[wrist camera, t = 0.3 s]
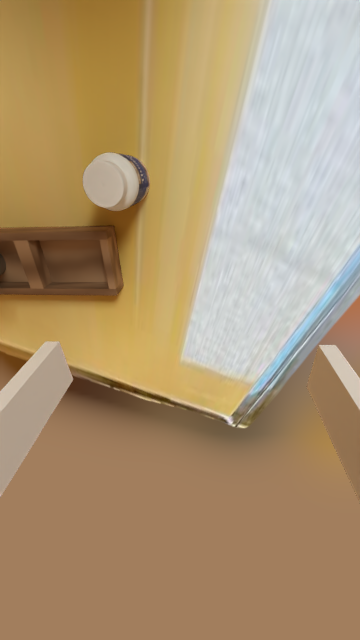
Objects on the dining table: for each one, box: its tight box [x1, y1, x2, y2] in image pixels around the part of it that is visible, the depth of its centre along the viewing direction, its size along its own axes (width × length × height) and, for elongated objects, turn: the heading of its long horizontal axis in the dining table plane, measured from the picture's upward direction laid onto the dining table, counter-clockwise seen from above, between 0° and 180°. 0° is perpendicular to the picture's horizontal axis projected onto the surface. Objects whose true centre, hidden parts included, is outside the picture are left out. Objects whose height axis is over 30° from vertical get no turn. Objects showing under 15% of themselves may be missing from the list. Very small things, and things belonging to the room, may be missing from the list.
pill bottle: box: [83, 153, 150, 211], centre depth 28 cm, size 5×5×10 cm
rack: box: [0, 226, 124, 295], centre depth 37 cm, size 9×24×4 cm, turn 92°
